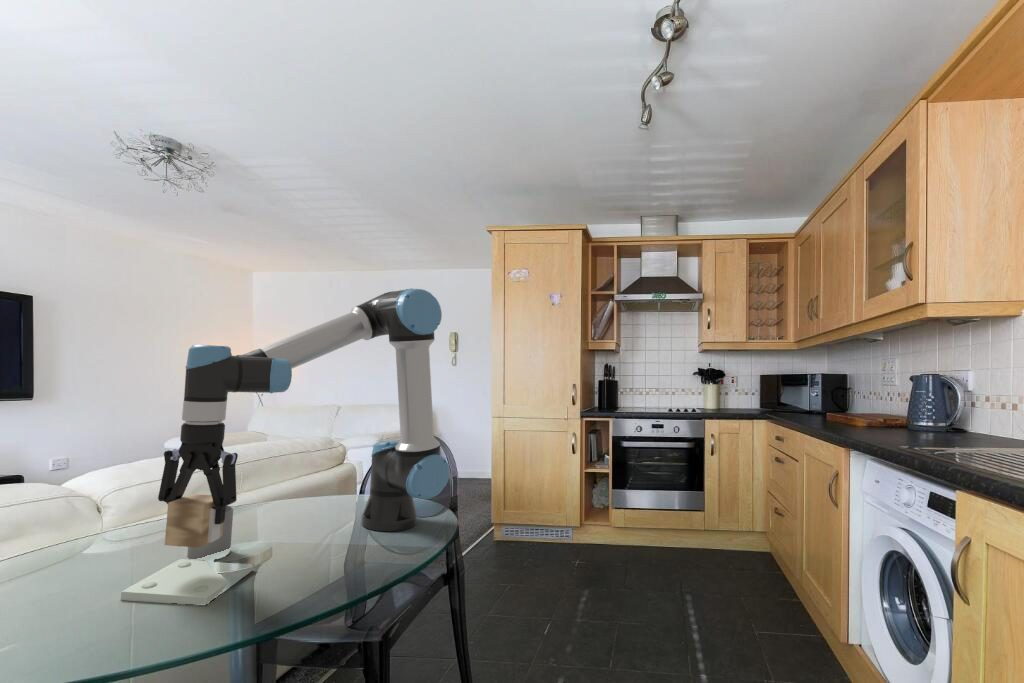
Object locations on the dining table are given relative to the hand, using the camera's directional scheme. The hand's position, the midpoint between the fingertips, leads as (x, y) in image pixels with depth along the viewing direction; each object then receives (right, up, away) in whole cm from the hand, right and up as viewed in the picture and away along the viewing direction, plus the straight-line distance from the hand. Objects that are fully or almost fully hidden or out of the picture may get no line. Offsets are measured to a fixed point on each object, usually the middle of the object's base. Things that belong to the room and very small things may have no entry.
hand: (194, 538), depth 103 cm
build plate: (0, -9, 0) cm, 9 cm away
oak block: (0, 0, 0) cm, 0 cm away
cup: (-6, -9, +15) cm, 19 cm away
